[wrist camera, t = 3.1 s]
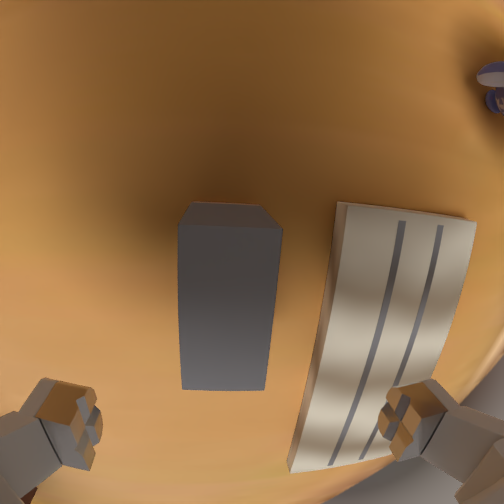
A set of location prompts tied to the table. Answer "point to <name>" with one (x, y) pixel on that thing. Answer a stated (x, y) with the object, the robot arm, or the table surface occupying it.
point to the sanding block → (226, 294)
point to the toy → (493, 85)
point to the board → (377, 325)
